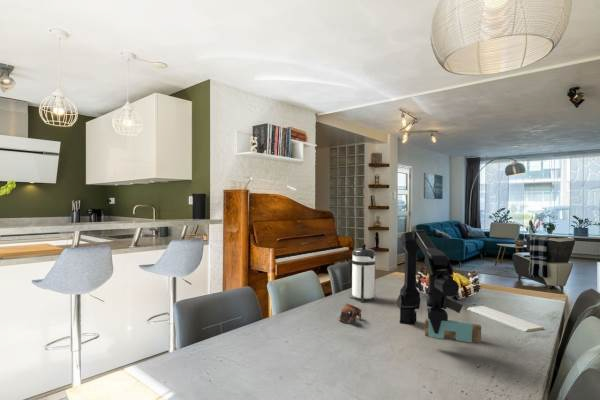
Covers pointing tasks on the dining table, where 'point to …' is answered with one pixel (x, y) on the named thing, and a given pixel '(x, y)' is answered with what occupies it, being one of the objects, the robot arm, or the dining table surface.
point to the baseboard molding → (505, 318)
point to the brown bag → (348, 316)
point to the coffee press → (362, 273)
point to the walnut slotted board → (451, 334)
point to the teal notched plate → (460, 328)
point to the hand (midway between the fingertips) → (436, 332)
